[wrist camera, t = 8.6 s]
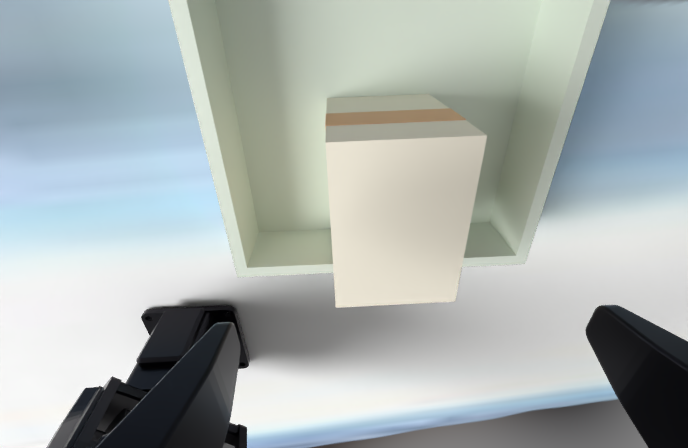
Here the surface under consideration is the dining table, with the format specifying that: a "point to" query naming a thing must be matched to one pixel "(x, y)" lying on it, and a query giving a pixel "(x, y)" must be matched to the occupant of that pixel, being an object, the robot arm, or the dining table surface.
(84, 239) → the dining table surface
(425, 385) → the dining table surface
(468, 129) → the taped carton
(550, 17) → the tote
